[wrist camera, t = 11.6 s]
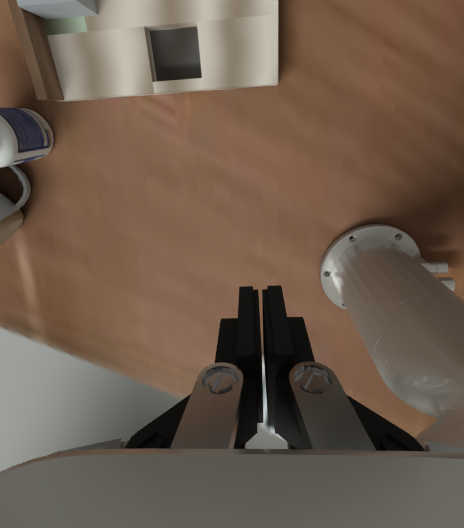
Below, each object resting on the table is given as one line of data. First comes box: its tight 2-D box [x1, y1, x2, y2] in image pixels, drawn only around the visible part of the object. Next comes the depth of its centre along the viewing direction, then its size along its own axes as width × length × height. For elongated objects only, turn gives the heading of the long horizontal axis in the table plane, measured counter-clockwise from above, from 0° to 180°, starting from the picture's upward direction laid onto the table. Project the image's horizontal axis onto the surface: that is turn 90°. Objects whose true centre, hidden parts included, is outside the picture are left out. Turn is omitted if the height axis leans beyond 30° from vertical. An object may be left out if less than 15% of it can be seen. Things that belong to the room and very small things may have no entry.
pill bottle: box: [0, 108, 53, 167], centre depth 31 cm, size 5×5×10 cm
